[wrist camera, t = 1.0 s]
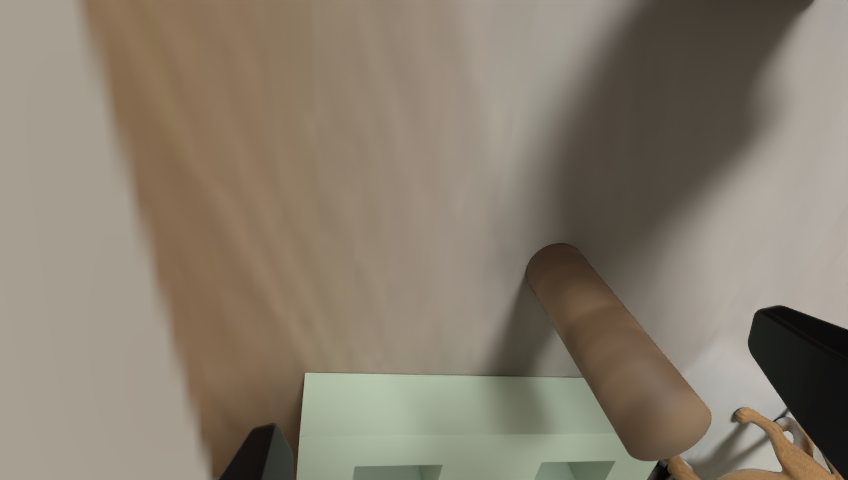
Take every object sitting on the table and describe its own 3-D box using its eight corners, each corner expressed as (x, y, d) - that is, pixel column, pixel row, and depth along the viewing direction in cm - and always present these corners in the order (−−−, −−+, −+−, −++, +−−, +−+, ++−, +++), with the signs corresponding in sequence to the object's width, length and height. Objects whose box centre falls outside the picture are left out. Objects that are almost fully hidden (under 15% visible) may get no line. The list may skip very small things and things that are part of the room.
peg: (590, 245, 24) (726, 400, 16) (571, 294, 26) (687, 460, 17) (535, 240, 24) (646, 399, 15) (519, 291, 25) (612, 462, 16)
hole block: (637, 379, 30) (675, 433, 26) (588, 472, 34) (616, 529, 31) (305, 372, 26) (299, 436, 22) (297, 480, 30) (291, 547, 26)
